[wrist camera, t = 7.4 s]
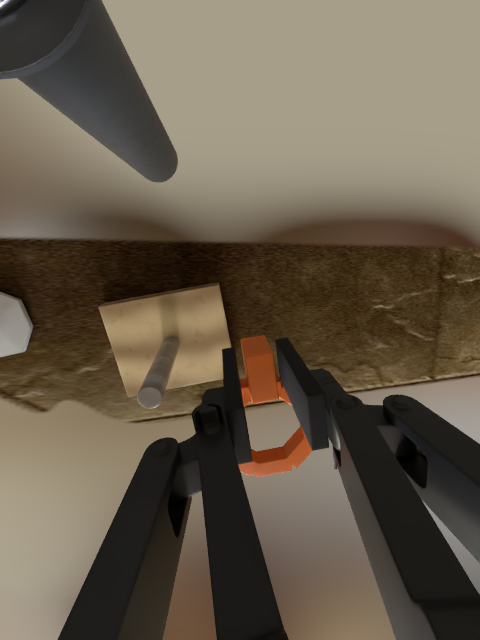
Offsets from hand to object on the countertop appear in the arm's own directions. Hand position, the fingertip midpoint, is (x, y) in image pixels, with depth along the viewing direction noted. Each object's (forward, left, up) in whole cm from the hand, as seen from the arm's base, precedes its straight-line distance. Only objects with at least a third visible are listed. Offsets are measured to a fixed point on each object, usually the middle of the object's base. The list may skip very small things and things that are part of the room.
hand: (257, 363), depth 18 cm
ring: (+4, 0, -1) cm, 4 cm away
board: (+4, -9, -19) cm, 21 cm away
